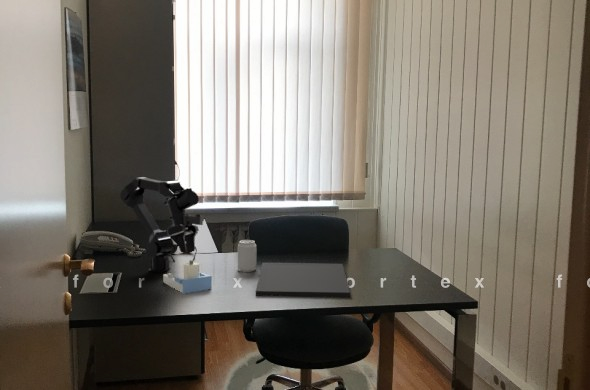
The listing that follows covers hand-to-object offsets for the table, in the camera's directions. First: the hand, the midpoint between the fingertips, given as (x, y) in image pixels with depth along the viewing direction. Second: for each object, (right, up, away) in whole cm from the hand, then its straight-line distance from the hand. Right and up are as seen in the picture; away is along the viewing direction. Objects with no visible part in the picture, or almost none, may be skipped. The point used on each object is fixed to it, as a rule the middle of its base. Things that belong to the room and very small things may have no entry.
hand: (189, 251), depth 239 cm
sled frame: (+1, -12, -8) cm, 14 cm away
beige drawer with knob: (+3, -12, -12) cm, 17 cm away
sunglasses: (-9, -6, +35) cm, 36 cm away
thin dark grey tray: (+43, -12, 0) cm, 45 cm away
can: (+21, -9, +14) cm, 27 cm away
